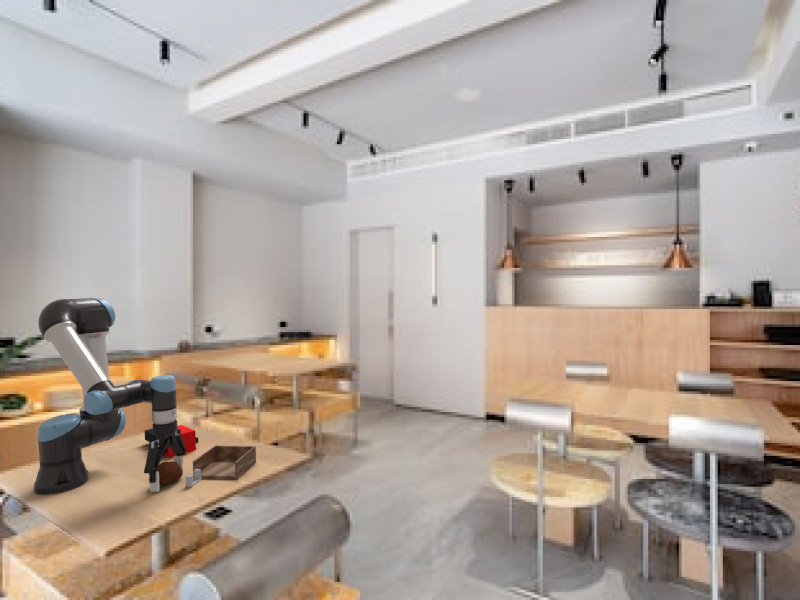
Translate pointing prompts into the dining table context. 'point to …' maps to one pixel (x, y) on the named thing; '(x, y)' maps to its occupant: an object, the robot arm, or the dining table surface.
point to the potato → (169, 472)
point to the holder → (225, 462)
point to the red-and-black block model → (186, 434)
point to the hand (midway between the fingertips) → (167, 482)
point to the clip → (190, 481)
